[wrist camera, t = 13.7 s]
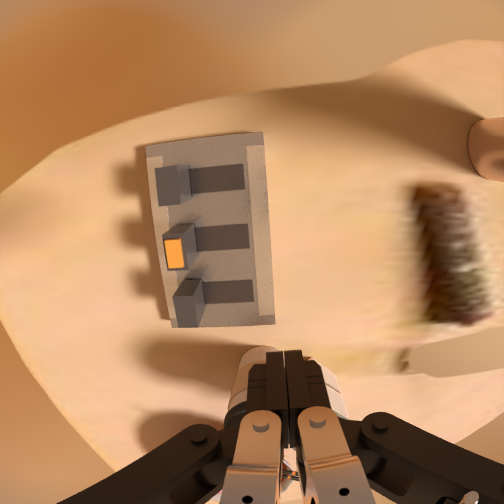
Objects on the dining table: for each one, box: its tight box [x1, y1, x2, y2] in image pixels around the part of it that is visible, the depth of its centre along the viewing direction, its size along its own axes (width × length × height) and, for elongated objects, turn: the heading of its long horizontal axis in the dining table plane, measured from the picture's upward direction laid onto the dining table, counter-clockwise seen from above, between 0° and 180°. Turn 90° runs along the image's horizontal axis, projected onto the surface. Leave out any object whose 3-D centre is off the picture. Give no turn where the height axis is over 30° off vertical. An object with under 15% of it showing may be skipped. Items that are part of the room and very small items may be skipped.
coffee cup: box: [224, 346, 290, 444], centre depth 37 cm, size 9×9×15 cm
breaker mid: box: [162, 224, 198, 271], centre depth 34 cm, size 2×4×6 cm, turn 4°
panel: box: [146, 132, 275, 328], centre depth 38 cm, size 14×24×2 cm, turn 4°
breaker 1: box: [155, 165, 192, 207], centre depth 32 cm, size 2×4×5 cm, turn 4°
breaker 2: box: [172, 279, 205, 328], centre depth 36 cm, size 2×4×5 cm, turn 5°
